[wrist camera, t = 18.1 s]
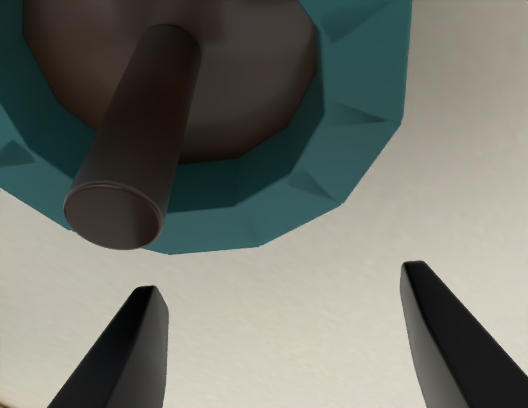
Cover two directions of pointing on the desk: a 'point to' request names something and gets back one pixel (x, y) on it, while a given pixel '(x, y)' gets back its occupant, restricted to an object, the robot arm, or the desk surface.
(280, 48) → the stand
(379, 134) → the ring
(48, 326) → the desk surface
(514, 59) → the desk surface
